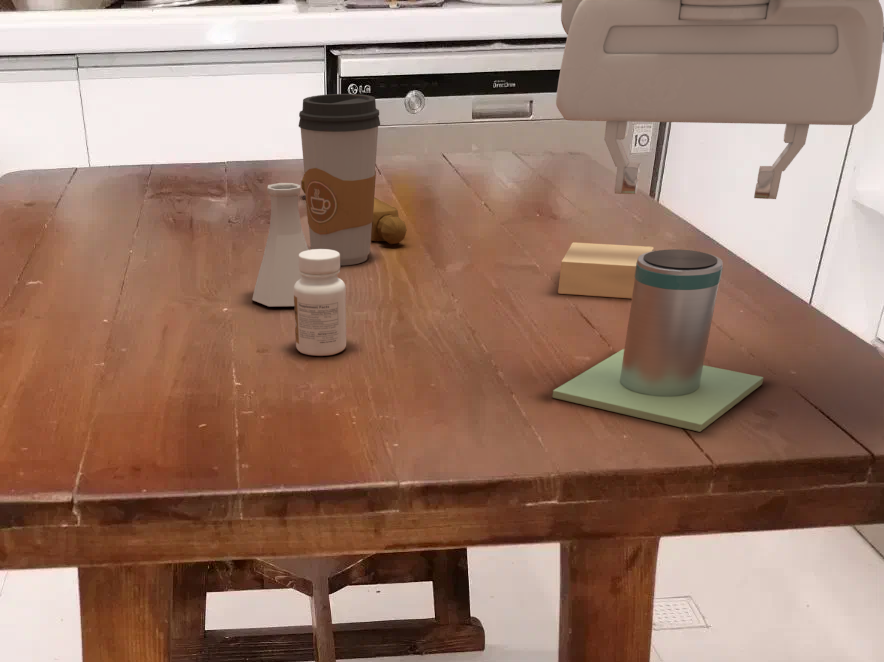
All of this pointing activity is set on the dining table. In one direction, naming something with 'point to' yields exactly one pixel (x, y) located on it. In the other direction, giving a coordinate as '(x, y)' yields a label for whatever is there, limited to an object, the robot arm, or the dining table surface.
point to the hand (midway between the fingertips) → (694, 195)
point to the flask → (281, 248)
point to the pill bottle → (320, 304)
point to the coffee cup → (340, 172)
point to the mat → (681, 411)
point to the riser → (600, 269)
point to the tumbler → (670, 321)
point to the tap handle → (384, 222)
